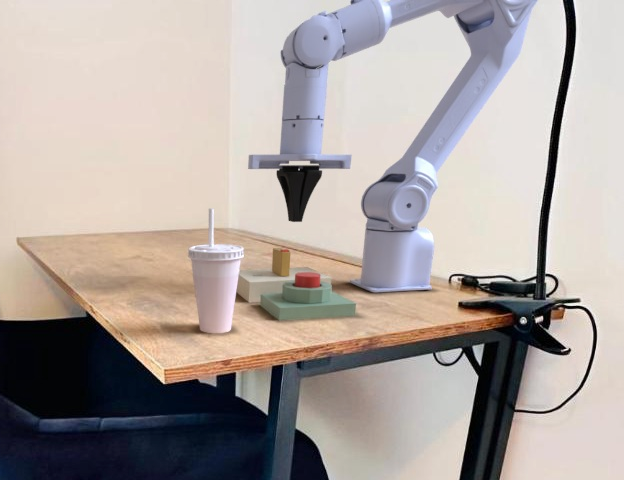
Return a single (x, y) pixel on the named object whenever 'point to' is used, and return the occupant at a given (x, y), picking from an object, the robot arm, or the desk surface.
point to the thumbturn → (281, 261)
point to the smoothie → (215, 281)
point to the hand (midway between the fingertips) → (295, 221)
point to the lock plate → (267, 282)
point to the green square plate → (307, 303)
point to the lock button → (307, 280)
